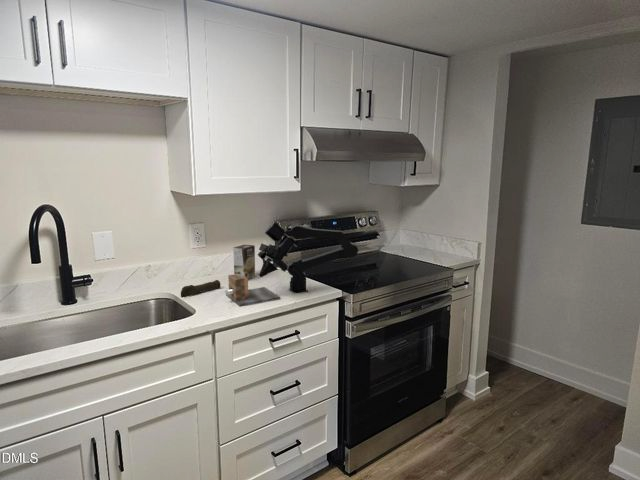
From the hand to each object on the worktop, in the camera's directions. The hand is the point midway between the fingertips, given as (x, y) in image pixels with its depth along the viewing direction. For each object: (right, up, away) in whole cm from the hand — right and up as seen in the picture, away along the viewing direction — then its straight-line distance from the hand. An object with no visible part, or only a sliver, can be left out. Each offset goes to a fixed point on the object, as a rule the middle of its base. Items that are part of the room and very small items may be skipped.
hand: (259, 276), depth 181 cm
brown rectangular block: (-9, -8, -4) cm, 13 cm away
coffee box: (-11, -4, +29) cm, 31 cm away
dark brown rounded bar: (-26, -8, +6) cm, 28 cm away
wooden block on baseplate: (-3, -9, 0) cm, 9 cm away
